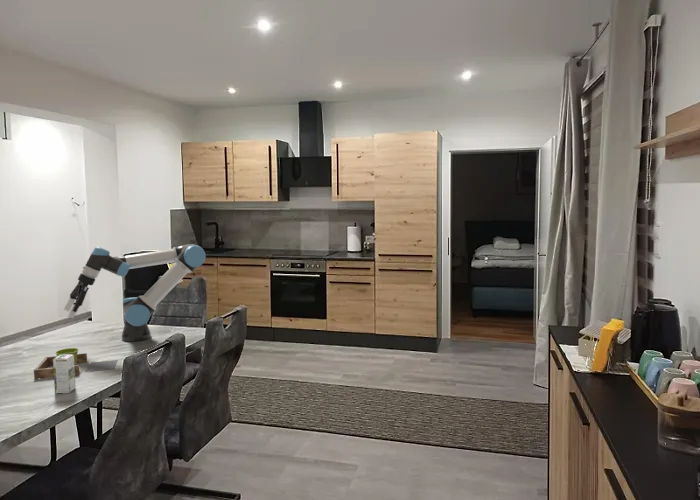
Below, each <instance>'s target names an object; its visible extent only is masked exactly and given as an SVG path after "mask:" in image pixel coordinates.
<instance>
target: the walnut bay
mask: <svg viewBox="0 0 700 500" xmlns="http://www.w3.org/2000/svg"><path fill="white" fill-rule="evenodd" d="M56 357H57V355H53V356H51V355H50V356H45V357H44V358H43V360H42V361H41V362H40V363H39V364H38V365H37V366H36V367H35V368H34V370H33V377H34V378H33V379H34V380H38V379H37V378H42V379H49V377H52V378H54V368H53V359H54V358H56ZM82 363H88V353H77V360H76V365H75V366H74V368H75V376H79V375H80V365H78V364H82ZM49 366H51V367H49Z"/></svg>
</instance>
